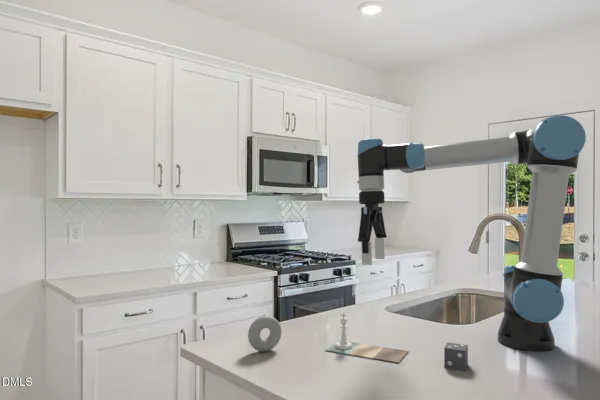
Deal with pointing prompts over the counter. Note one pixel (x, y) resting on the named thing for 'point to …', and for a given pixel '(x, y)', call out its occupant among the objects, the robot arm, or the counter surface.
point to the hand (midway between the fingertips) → (373, 261)
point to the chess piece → (343, 335)
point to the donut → (257, 328)
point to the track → (371, 352)
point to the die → (456, 356)
